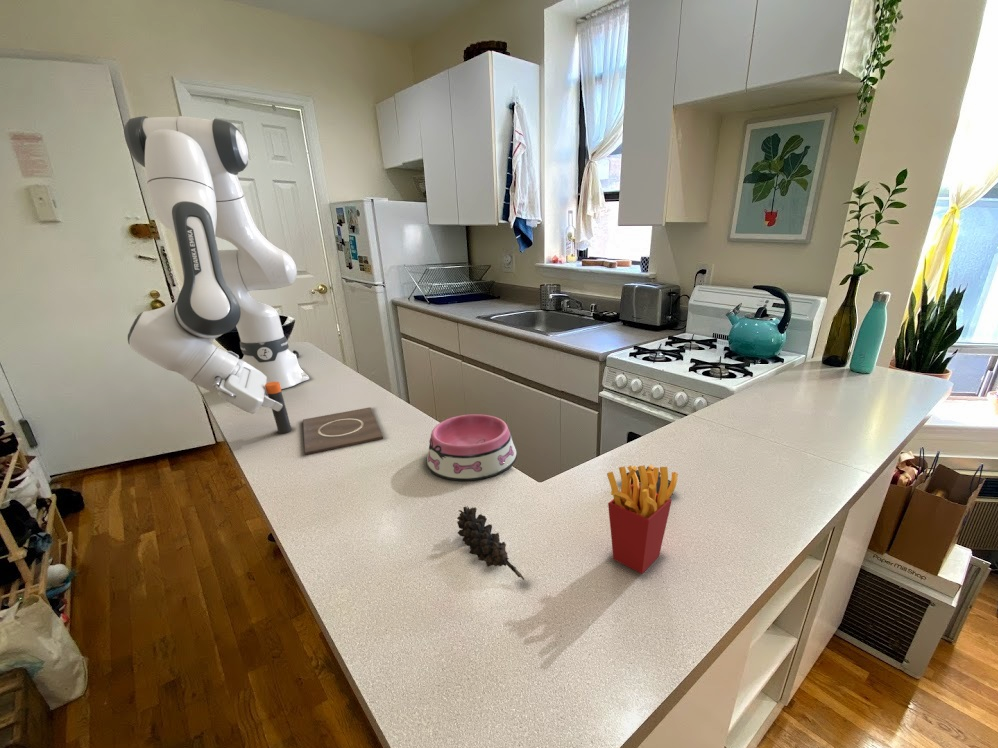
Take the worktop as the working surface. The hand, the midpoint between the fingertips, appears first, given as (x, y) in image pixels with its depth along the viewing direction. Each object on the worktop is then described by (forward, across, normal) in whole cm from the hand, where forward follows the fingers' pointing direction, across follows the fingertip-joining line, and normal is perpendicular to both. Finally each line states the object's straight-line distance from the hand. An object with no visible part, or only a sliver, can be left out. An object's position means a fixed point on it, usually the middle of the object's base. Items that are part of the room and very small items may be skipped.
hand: (281, 405), depth 108 cm
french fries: (+38, -75, -28) cm, 88 cm away
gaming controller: (+46, -63, -36) cm, 86 cm away
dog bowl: (+29, -35, -20) cm, 50 cm away
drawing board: (+13, -6, -3) cm, 14 cm away
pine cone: (+24, -65, -15) cm, 71 cm away
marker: (+4, 0, +5) cm, 7 cm away
